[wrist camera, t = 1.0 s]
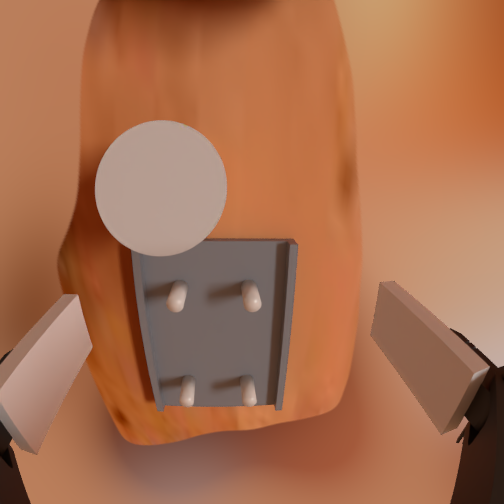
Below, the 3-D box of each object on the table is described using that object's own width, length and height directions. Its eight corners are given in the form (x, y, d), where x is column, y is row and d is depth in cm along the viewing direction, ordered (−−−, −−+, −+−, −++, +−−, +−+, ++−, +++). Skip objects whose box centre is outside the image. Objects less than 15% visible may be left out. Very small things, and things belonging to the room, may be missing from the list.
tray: (136, 239, 29) (121, 253, 25) (293, 238, 31) (305, 253, 26) (159, 399, 36) (154, 426, 31) (278, 398, 37) (285, 425, 32)
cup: (238, 198, 29) (249, 221, 18) (165, 233, 30) (132, 276, 18) (204, 123, 27) (192, 97, 15) (130, 160, 27) (75, 162, 16)
